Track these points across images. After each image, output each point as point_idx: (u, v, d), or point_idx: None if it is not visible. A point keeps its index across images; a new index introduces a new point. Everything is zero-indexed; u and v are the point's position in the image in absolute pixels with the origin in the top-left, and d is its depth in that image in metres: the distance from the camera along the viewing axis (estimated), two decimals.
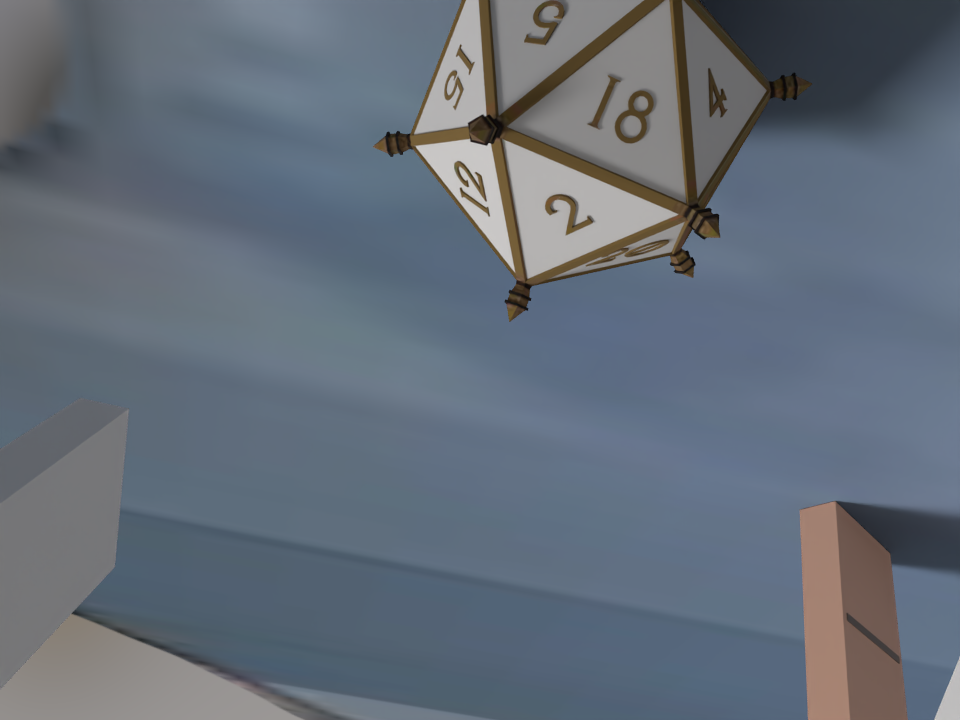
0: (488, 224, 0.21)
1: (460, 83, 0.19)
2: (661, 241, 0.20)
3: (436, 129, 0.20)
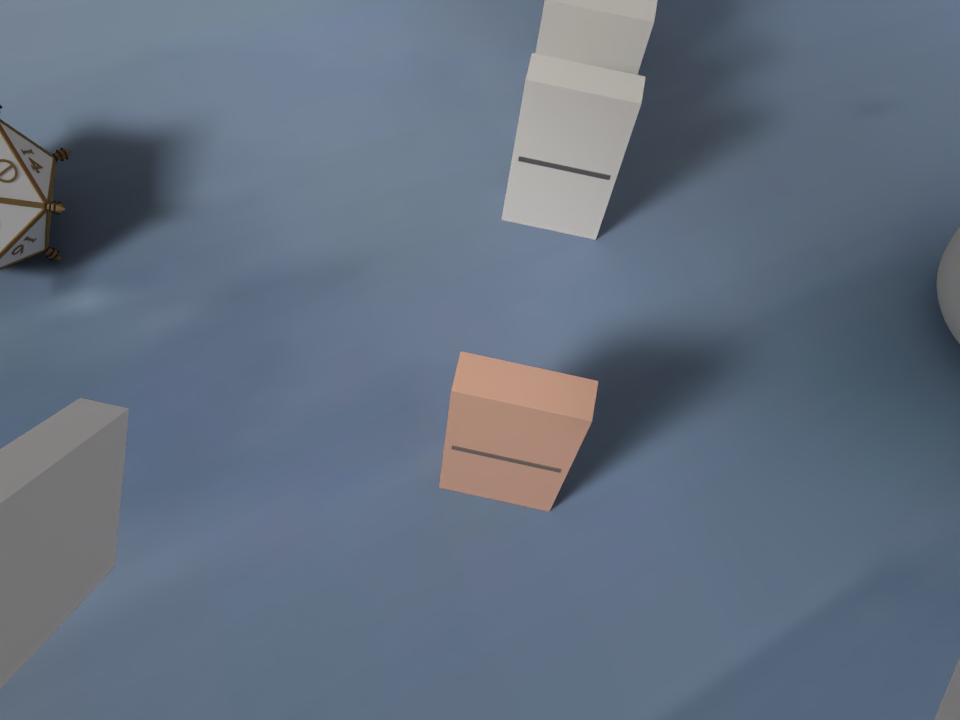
0: None
1: None
2: (6, 160, 0.39)
3: None
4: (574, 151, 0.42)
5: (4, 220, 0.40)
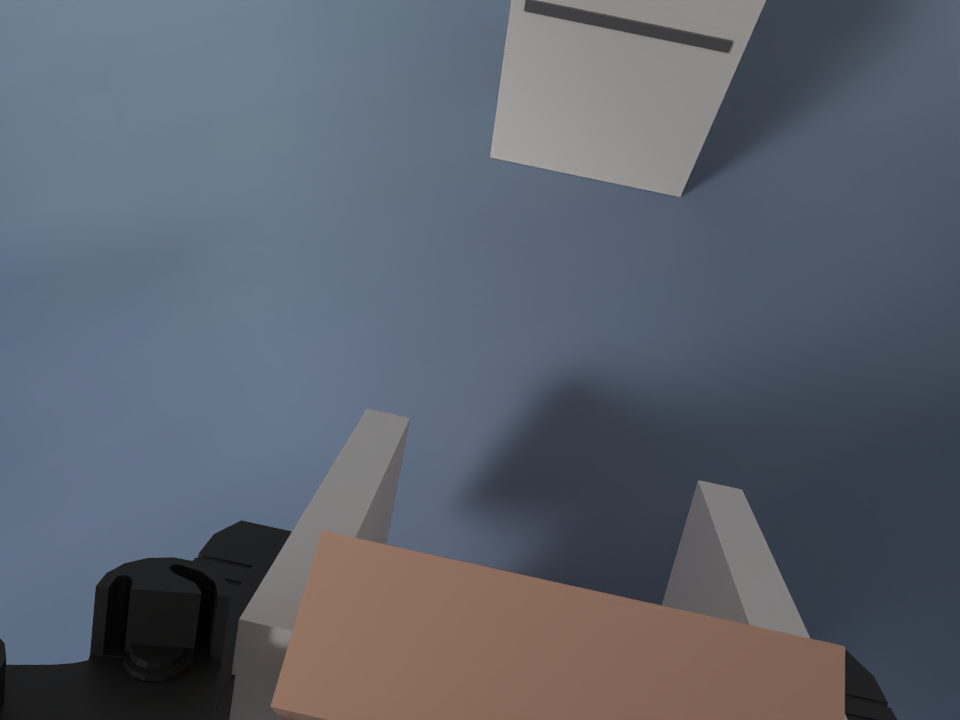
0: None
1: None
2: None
3: None
4: None
5: None
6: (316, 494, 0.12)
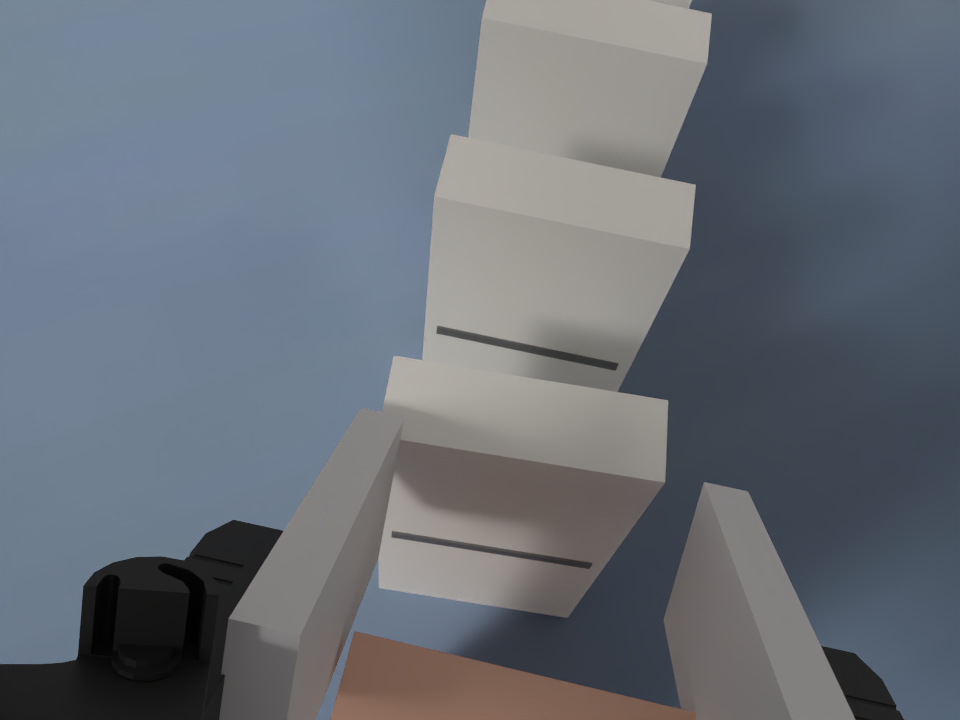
0: None
1: None
2: None
3: None
4: (510, 532, 0.19)
5: None
6: (309, 493, 0.12)
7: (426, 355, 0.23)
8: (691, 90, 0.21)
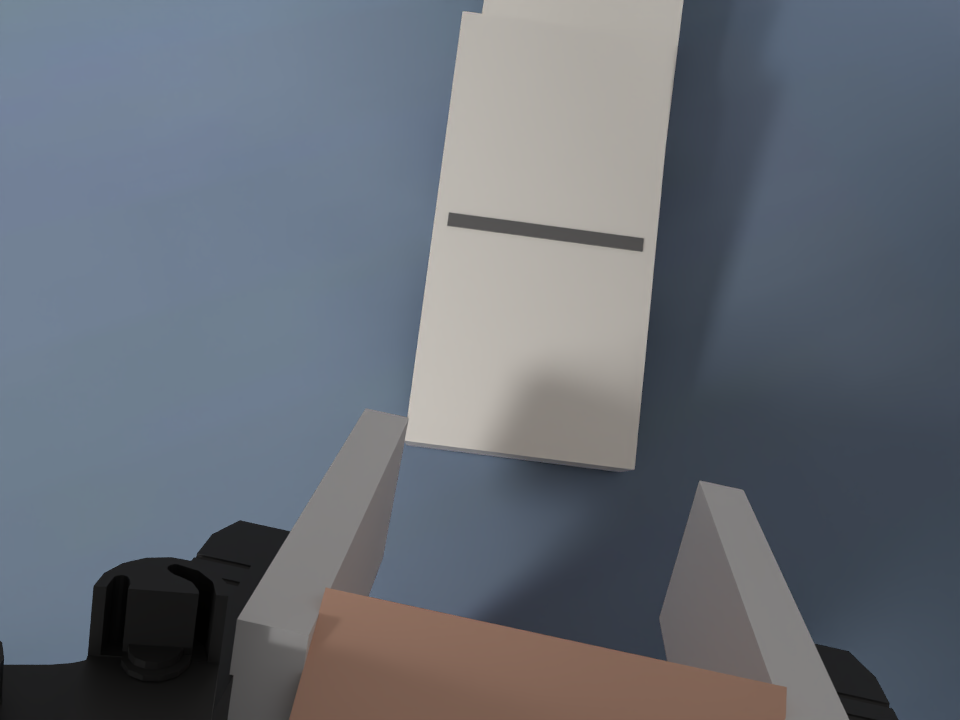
0: None
1: None
2: None
3: None
4: (563, 181, 0.21)
5: None
6: (315, 494, 0.12)
7: None
8: None
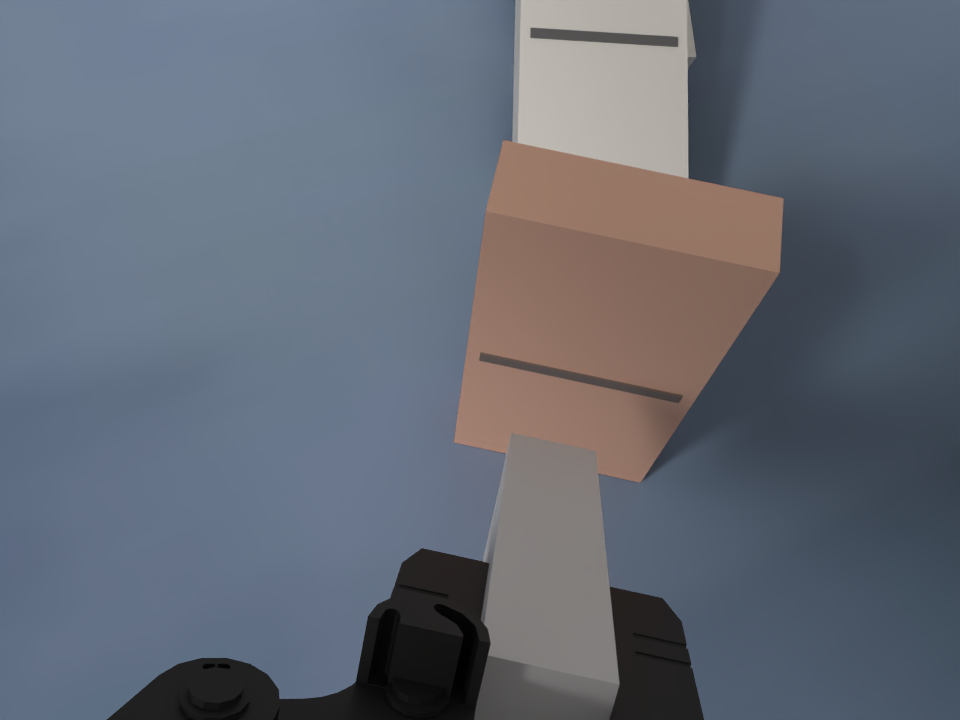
0: None
1: None
2: None
3: None
4: None
5: None
6: (500, 523, 0.13)
7: None
8: None
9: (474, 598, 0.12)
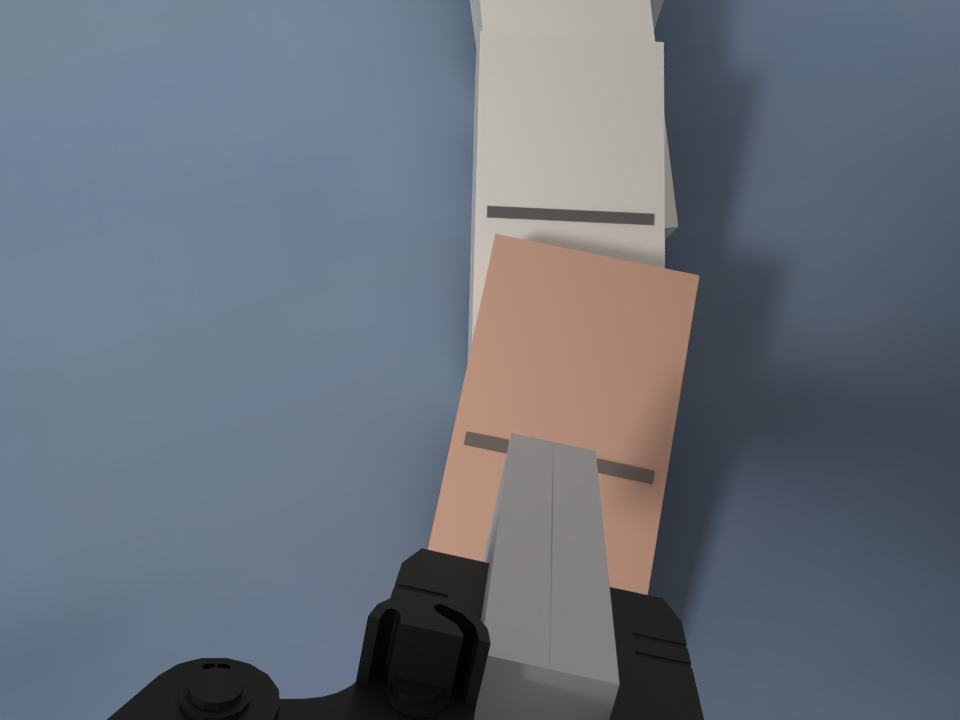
0: None
1: None
2: None
3: None
4: (581, 170, 0.24)
5: None
6: (500, 523, 0.13)
7: None
8: None
9: (474, 598, 0.12)
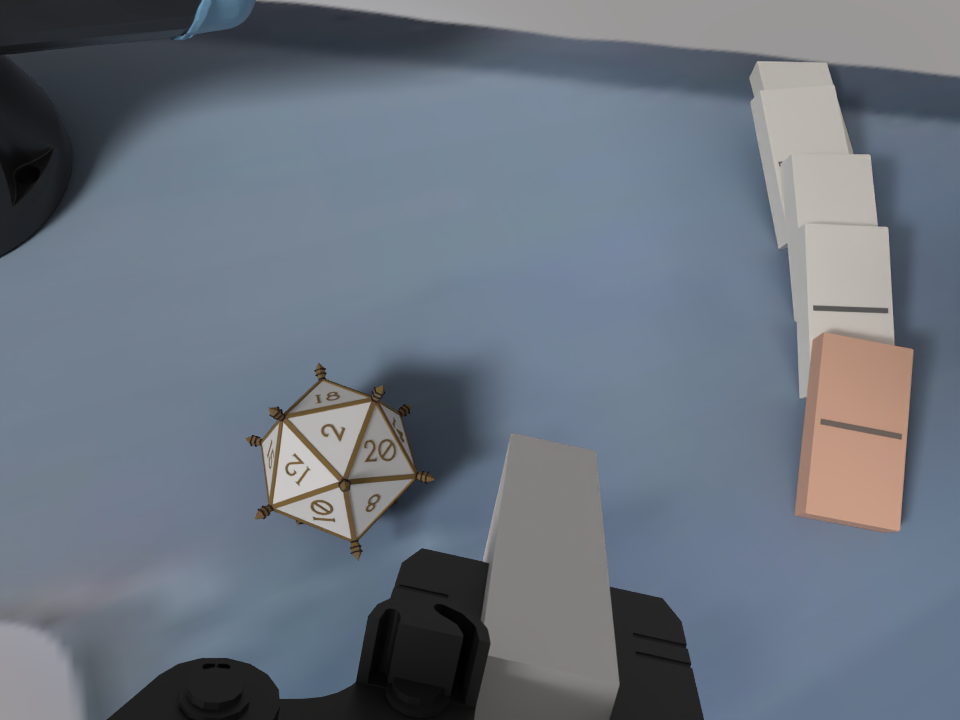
0: (313, 477, 0.42)
1: (272, 452, 0.44)
2: (387, 440, 0.43)
3: (273, 474, 0.43)
4: (854, 288, 0.53)
5: (384, 493, 0.43)
6: (500, 523, 0.13)
7: None
8: (835, 97, 0.59)
9: (474, 598, 0.12)
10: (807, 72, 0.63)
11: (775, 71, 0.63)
